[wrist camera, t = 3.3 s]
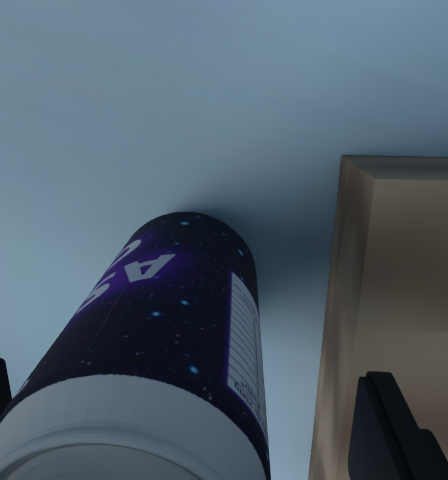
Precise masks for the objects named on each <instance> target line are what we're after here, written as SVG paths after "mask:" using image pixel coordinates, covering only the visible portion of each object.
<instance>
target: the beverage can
mask: <svg viewBox="0 0 448 480" xmlns="http://www.w3.org/2000/svg"><path fill="white" fill-rule="evenodd" d="M0 480H271V474H270V460H269V446H268V432H267V418H266V404H265V390H264V376H263V361H262V347H261V333H260V319H259V305H258V291H257V277H256V268H255V263H254V260H253V257H252V254H251V252H250V250H249V248H248V246H247V245H246V243H245V242H244V240H243V239H242V238H241V237H240V236H239V235H238V234H237V233H236V232H235V231H234V230H233V229H232V228H231V227H229V226H228V225H226V224H225V223H223V222H221V221H220V220H218V219H215V218H213V217H210V216H208V215H204V214H200V213H194V212H176V213H170V214H166V215H162V216H159V217H157V218H155V219H153V220H151V221H149V222H147V223H146V224H144V225H143V226H142V227H141V228H139V229H138V230H137V231H136V232H135V233H134V234H133V236H132V237H131V238H130V240H129V241H128V242H127V244H126V245H125V246H124V248H123V249H122V250H121V252H120V253H119V255H118V256H117V257H116V259H115V260H114V261H113V263H112V264H111V265H110V267H109V268H108V270H107V271H106V272H105V274H104V275H103V276H102V278H101V279H100V280H99V282H98V283H97V285H96V286H95V287H94V289H93V290H92V291H91V293H90V294H89V295H88V297H87V298H86V300H85V301H84V302H83V304H82V305H81V306H80V308H79V309H78V310H77V312H76V313H75V315H74V316H73V317H72V319H71V320H70V321H69V323H68V324H67V325H66V327H65V328H64V330H63V331H62V332H61V334H60V335H59V336H58V338H57V339H56V340H55V342H54V343H53V345H52V346H51V347H50V349H49V350H48V351H47V353H46V354H45V355H44V357H43V358H42V360H41V361H40V362H39V364H38V365H37V366H36V368H35V369H34V370H33V372H32V373H31V374H30V376H29V377H28V379H27V380H26V381H25V383H24V384H23V385H22V387H21V388H20V389H19V391H18V392H17V394H16V395H15V396H14V398H13V399H12V400H11V402H10V403H9V404H8V406H7V407H6V409H5V410H4V411H3V413H2V414H1V416H0Z"/></svg>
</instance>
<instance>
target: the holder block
mask: <svg viewBox="0 0 448 480" xmlns="http://www.w3.org/2000/svg"><path fill="white" fill-rule="evenodd" d="M368 371H379V372H391V373H392V374H393V376H394V378H395V380H396V382H397V384H398V386H399V388H400V390H401V392H402V394H403V396H404V398H405V401H406V403H407V405H408V407H409V409H410V411H411V413H412V415H413V417H414V419H415V421H416V423H417V425H418V427H419V429H429V430H430V431H431V432H432V433H433V435H434V436H435V438H436V440H437V441H438V443H439V445H440V447H441V449H442V451H443V453H444V455H445V457H446V459H447V460H448V157H413V156H354V155H342V158H341V167H340V177H339V187H338V196H337V206H336V216H335V225H334V235H333V245H332V254H331V264H330V274H329V284H328V293H327V303H326V313H325V322H324V332H323V342H322V351H321V361H320V371H319V380H318V390H317V400H316V409H315V419H314V429H313V439H312V448H311V458H310V468H309V477H308V480H350V477H349V473H348V453H349V445H350V438H351V430H352V423H353V415H354V408H355V400H356V393H357V385H358V379H359V377H360V376H361V377H366V373H367V372H368Z"/></svg>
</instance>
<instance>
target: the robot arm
mask: <svg viewBox="0 0 448 480" xmlns="http://www.w3.org/2000/svg"><path fill="white" fill-rule="evenodd" d="M11 400H12V396H11V391H10V385H9V380H8V374H7V368H6V363H5V360H4V359H2V358H0V416H1V414H2V413H3V411H4V410H5V409H6V407H7V406H8V404H9V403H10V402H11ZM348 473H349V477H350V480H448V460H447V459H446V457H445V455H444V453H443V451H442V449H441V447H440V445H439V443H438V441H437V440H436V438H435V436H434V435H433V433H432V432H431V431H430V430H429V429H419V427H418V425H417V423H416V421H415V419H414V417H413V415H412V413H411V411H410V409H409V407H408V405H407V403H406V401H405V398H404V396H403V394H402V392H401V390H400V388H399V386H398V384H397V382H396V380H395V378H394V376H393V374H392V373H391V372H379V371H368V372H367V373H366V377H361V376H360V377H359V379H358V385H357V393H356V400H355V408H354V415H353V423H352V430H351V438H350V445H349V453H348Z"/></svg>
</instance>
